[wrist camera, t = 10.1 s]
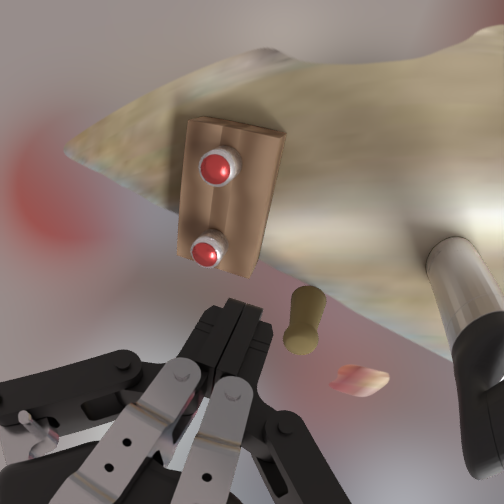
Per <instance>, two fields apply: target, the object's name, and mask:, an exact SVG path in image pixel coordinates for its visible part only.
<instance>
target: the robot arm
mask: <svg viewBox="0 0 504 504" xmlns="http://www.w3.org/2000/svg"><path fill="white" fill-rule="evenodd" d="M426 271H427V275H428V278H429V281H430V284H431V286H432V290H433V293H434V296H435V299H436V302H437V305H438V308H439V311H440V315H441V318H442V321H443V325H444V328H445V332H446V336H447V339H448V343H449V347H450V351H451V355H452V359H453V364H454V375H455V380H456V386H457V392H458V401H459V413H460V429H461V442H462V449H463V456H464V460H465V464H466V467H467V469H468V471H469V473H470V475H471V476H472V477H473V478H475V479H477V480H484V479H488V478H490V477H493V476H495V475H497V474H500V473H502V472H504V380H502V381H501V382H499V381H500V380H501V379H502V377H503V376H504V295H503V293H502V292H501V288H500V286H499V285H498V283H497V281H496V280H495V278H494V276H493V275H492V273H491V271H490V270H489V268H488V266H487V265H486V263H485V262H484V260H483V259H482V257H481V256H480V255H479V254H478V252H477V251H476V249H475V248H474V246H473V245H472V244H471V242H469V241H468V240H467V239H464V238H461V237H451V238H448V239H445V240H443V241H441V242H440V243H439V244H437V245H436V246H435V247H434V249H433V250H432V251H431V253H430V254H429V257H428V259H427V264H426ZM262 312H263V308H260V307H257V306H254V305H250V304H246V303H244V302H241V301H238V300H235V299H232V298H229V299H228V300H227V302H226V304H225V306H224V308H220V307H218V306H214V305H213V306H212V307H210V308H209V309H207V310H206V311H205V312H204V313H203V315H202V317H201V318H200V320H199V322H198V323H197V325H196V326H195V329H194V330H193V331H192V333H191V335H190V336H189V338H188V340H187V341H186V343H185V345H184V346H183V348H182V350H181V351H180V353H179V354H178V356H177V357H176V358H174V359H171V360H170V361H168V362H167V363H162V364H155V363H148V362H141V360H140V358H139V357H138V356H137V354H135V353H134V352H132V351H129V350H117V351H114V352H111V353H107V354H104V355H101V356H97V357H94V358H91V359H88V360H84V361H80V362H77V363H73V364H70V365H66V366H63V367H59V368H56V369H52V370H48V371H44V372H40V373H37V374H33V375H29V376H25V377H21V378H17V379H13V380H9V381H5V382H0V440H1V445H2V449H3V453H4V457H5V461H6V465H7V466H6V467H5V468H3V469H2V470H1V472H0V504H243V503H242V502H241V501H240V500H239V499H238V498H237V497H236V496H235V495H234V494H232V493H231V492H230V488H231V484H232V480H233V477H234V473H235V470H236V466H237V462H238V458H239V455H240V450H241V447H243V448H244V449H246V450H247V451H249V452H250V453H251V455H252V458H253V460H254V462H255V464H256V466H257V468H258V470H259V472H260V475H261V477H262V479H263V481H264V483H265V485H266V487H267V489H268V491H269V493H270V495H271V497H272V499H273V501H274V503H275V504H351V502H350V500H349V499H348V497H347V496H346V494H345V492H344V490H343V489H342V487H341V485H340V484H339V482H338V480H337V479H336V477H335V475H334V474H333V472H332V470H331V469H330V467H329V465H328V463H327V462H326V460H325V458H324V457H323V455H322V453H321V451H320V450H319V448H318V446H317V445H316V443H315V441H314V439H313V437H312V436H311V434H310V432H309V430H308V429H307V427H306V425H305V423H304V421H303V420H302V419H301V417H300V416H298V415H297V414H295V413H294V412H291V411H286V410H283V411H276V410H274V409H273V408H271V407H270V406H268V405H267V404H266V403H264V402H263V401H262V399H261V398H260V397H259V395H258V392H257V383H258V380H259V377H260V374H261V371H262V368H263V365H264V362H265V359H266V356H267V353H268V350H269V347H270V343H271V340H272V337H273V330H272V325H271V324H269V323H266V322H263V321H260V319H261V316H262ZM204 397H207V398H209V399H210V400H209V403H208V406H207V408H206V411H205V414H204V417H203V420H202V423H201V426H200V428H199V431H198V433H197V434H196V436H195V438H194V441H193V443H192V446H191V449H190V452H189V454H188V457H187V460H186V463H185V465H184V468H183V471H182V472H180V471H175V470H169V469H166V468H167V466H168V465H169V463H170V461H171V460H172V458H173V455H174V452H175V449H176V447H177V445H178V443H179V442H180V440H181V438H182V437H183V435H184V433H185V432H186V430H187V428H188V427H189V425H190V423H191V422H192V420H193V418H194V417H195V415H196V413H197V411H198V408H199V406H200V404H201V402H202V400H203V398H204ZM114 420H115V422H114V423H113V424H112V425H111V427H110V428H109V429H108V431H107V432H106V433H105V435H104V436H103V437H102V439H101V440H100V441H92V442H88V443H84V444H81V445H78V446H75V447H72V448H69V449H66V450H62V451H59V452H56V453H52V454H49V455H45V453H47V452H50V451H52V450H54V449H55V448H56V447H57V444H58V442H59V437H61V436H64V435H68V434H71V433H75V432H79V431H82V430H86V429H89V428H92V427H96V426H99V425H102V424H105V423H108V422H111V421H114ZM44 455H45V456H44Z"/></svg>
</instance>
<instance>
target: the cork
mask: <svg viewBox="0 0 504 504" xmlns="http://www.w3.org/2000/svg"><path fill="white" fill-rule="evenodd" d="M325 305H326V297H325V294H324V293H323V292H322V291H321V290H320V289H318V288H316V287H313V286H302V287H299V288H298V289H296V290H295V291H294V292H293V294H292V298H291V311H290V325H289V327H288V328H287V329H286V331H285V332H284V336H283V342H284V345H285V347H286V348H287V350H288V351H290V352H291V353H294V354H297V355H305V354H309V353H311V352H312V351H313V350H314V349H315V348H316V346H317V344H318V333H317V328H318V325H319V323H320V320H321V317H322V314H323V311H324V308H325Z"/></svg>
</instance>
